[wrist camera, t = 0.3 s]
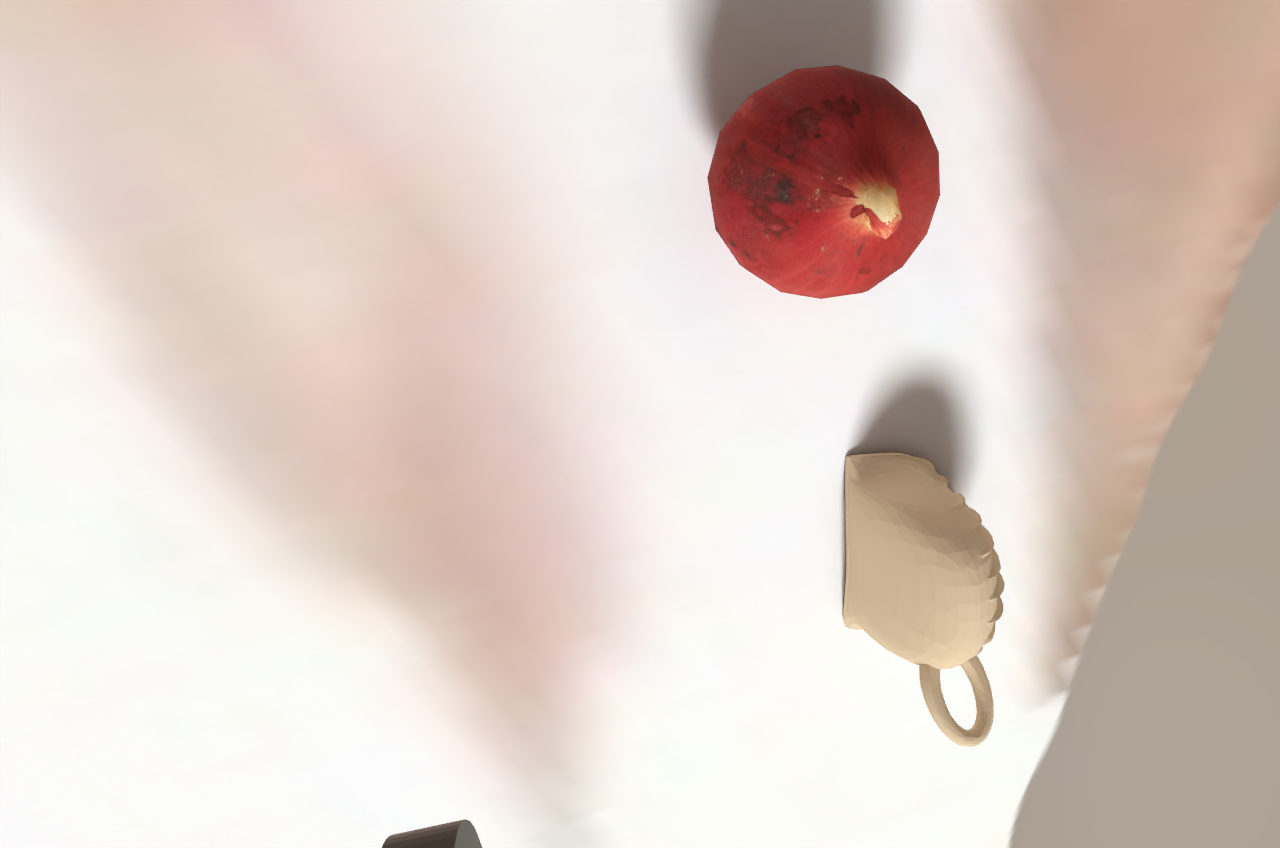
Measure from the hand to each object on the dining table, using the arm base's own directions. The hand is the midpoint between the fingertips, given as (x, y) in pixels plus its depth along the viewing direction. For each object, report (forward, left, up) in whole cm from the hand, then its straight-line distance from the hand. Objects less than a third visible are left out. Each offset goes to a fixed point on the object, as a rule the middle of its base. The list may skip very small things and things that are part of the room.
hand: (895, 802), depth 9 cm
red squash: (-4, +3, -21) cm, 22 cm away
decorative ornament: (+7, +10, -22) cm, 25 cm away
